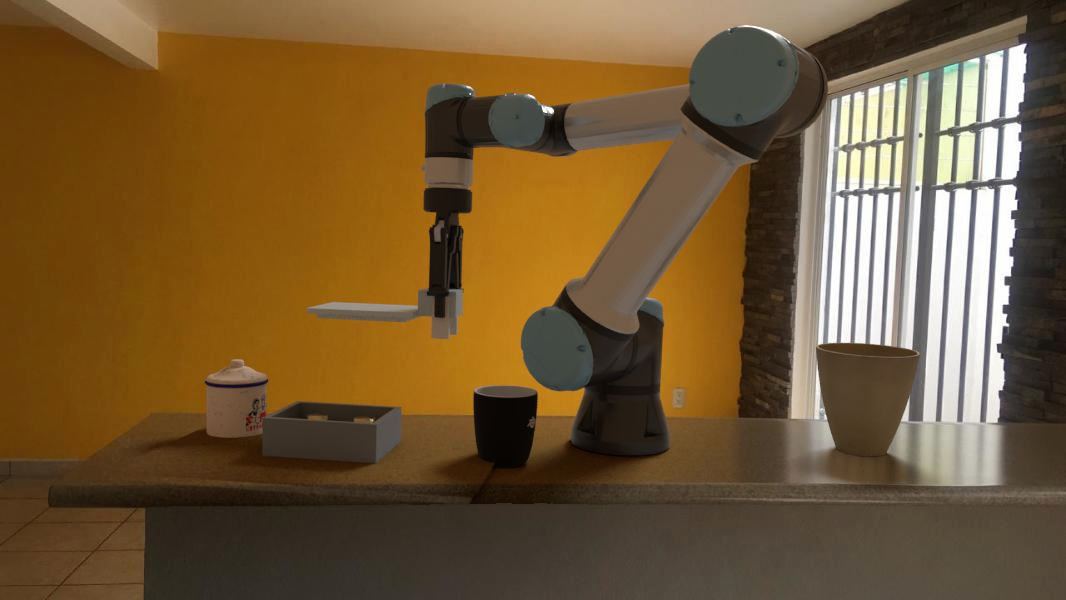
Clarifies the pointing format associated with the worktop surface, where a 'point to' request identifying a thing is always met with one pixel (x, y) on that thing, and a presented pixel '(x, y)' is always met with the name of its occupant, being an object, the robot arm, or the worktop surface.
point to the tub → (331, 432)
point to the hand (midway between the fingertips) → (444, 336)
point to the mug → (505, 423)
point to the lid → (387, 309)
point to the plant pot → (865, 393)
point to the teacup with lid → (236, 401)
